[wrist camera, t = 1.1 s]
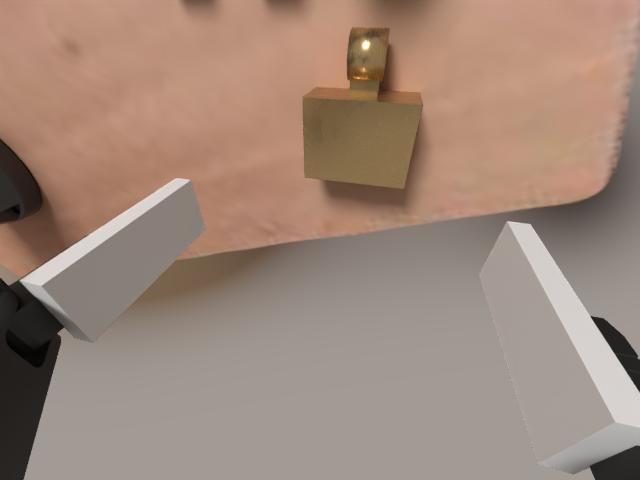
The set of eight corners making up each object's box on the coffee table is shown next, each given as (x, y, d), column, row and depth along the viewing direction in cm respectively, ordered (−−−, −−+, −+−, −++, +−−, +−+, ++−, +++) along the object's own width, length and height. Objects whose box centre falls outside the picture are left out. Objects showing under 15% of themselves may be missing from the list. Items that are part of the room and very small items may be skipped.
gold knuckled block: (316, 26, 19) (300, 27, 16) (433, 28, 18) (440, 29, 15) (316, 159, 25) (304, 177, 22) (403, 168, 24) (403, 188, 21)
